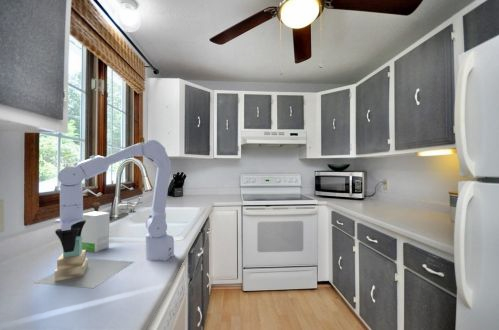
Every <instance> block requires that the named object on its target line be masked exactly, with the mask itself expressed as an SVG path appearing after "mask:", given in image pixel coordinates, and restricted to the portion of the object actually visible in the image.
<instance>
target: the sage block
mask: <svg viewBox="0 0 499 330" xmlns="http://www.w3.org/2000/svg"><path fill="white" fill-rule="evenodd" d="M81 252H82V236H77V237H76V241H75V247H74V251H72V252H66V253H65V252H64V250H63V249H62V253H63V258H66V257H72V256H79V255H80V254H81Z"/></svg>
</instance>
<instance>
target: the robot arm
mask: <svg viewBox="0 0 499 330" xmlns="http://www.w3.org/2000/svg"><path fill="white" fill-rule="evenodd" d="M131 157H145V158H146V159H148V160H149V161H151V162H152V164H154V165H155V167H156V173H155V174H156V175H155V179H154V180H155V182H154V189H153V195H152V196H153V197H152V202H151V209H150V210H149V211H150V212H149V216H148V217H147V219H146V220H145V227H146V228H147V230H148V231H147V233H146V234H145V259H146V260H147V261H167V260H169V258H171V257H172V258H173V257H175V256H176V254H175V241H174V240H175V239H174V237H173V235H170V234H167V230H168V224H167V222H166V217H167V216H166V215H167V214H166V206H167V198H168V192H169V191H168V190H169V186H170V185H169V184H170V177H171V169H172V161H171V160H170V158H169V155H168V154H167V151H166V147H164V145H163V144H161V142H159V141H158V140H155V139H150V140H147V141H145V142H144V141H143V142H138V143H135V144H133V145H130V146H128V147H125V148H123V149H121V150H120V149H119V150H118V151H116V152H114V153H112V154H109V155H107V156H101V155H96V156H95V155H90V156H89V158H88V159H85V160H83V161H81V162H74V163H73V166H71V165H70V166H65V167H64V168H63V169H61V170H60V171H59V172H58V173H57V180H58V181H59V188H60V190H59V218H57V219H55V220H54V223H55V224H57V223H59V224H60V225H61V228H58V229H56V230H55V232H54V233H55V235H56V236H57V237H58V239H59V241H60V243H61V246H62V251H63V250H64V252H65V253H66V252H72V251H74V247H75V241H76V237H77V236H81V232H82V229H83V226H84V224H85V222H86V220H84V217H83V214H84V194H83V193H84V189H83V181H84V179H85V180H89V179H91V178H94V177H96V176H98V175H100V174H103V173H105V172H107V171H108V170H109V167H110V166H111V165H113V164H116V163H118V162H121V161H124V160H126V159H129V158H131Z"/></svg>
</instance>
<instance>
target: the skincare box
mask: <svg viewBox="0 0 499 330" xmlns="http://www.w3.org/2000/svg"><path fill="white" fill-rule="evenodd" d="M110 214H111V213H110V212H106V211H105V212H104V211H99V212H96V211H95V210H94V211H89V212H85V213H83V217H84V220H86V222H85V224H84V226H83V229H82V232H81V236H82V250H86V252H92V253H94V252H95V253H97V252H99V251H102V250H105V249H106V250H107V249H109V245H110Z"/></svg>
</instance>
